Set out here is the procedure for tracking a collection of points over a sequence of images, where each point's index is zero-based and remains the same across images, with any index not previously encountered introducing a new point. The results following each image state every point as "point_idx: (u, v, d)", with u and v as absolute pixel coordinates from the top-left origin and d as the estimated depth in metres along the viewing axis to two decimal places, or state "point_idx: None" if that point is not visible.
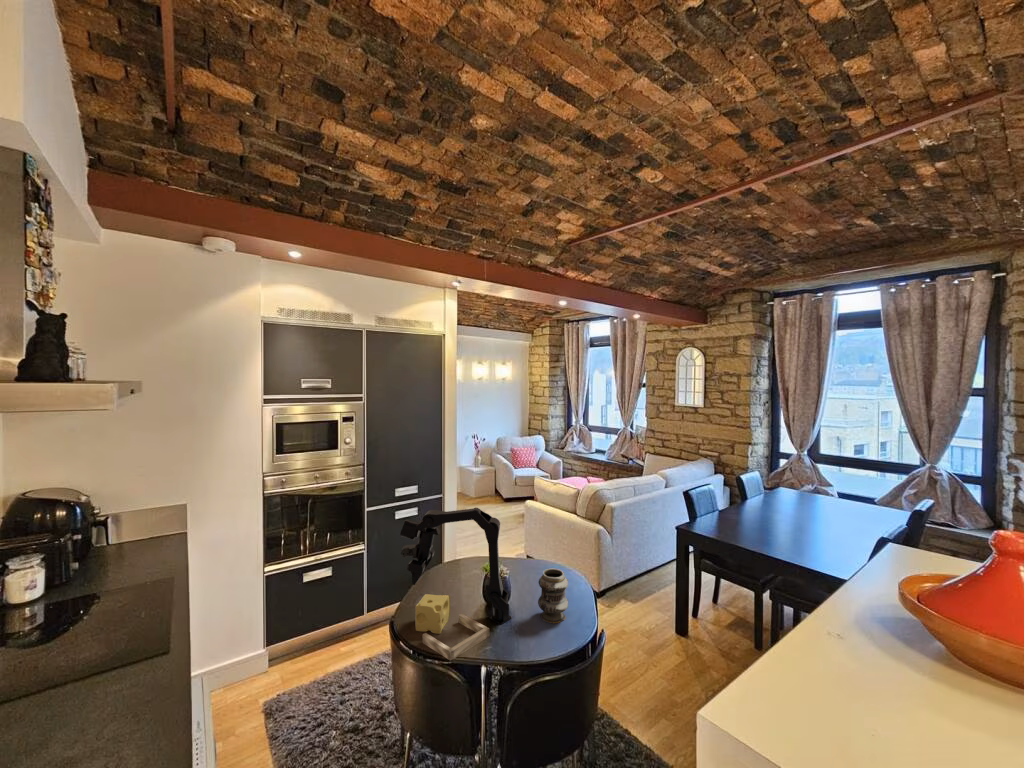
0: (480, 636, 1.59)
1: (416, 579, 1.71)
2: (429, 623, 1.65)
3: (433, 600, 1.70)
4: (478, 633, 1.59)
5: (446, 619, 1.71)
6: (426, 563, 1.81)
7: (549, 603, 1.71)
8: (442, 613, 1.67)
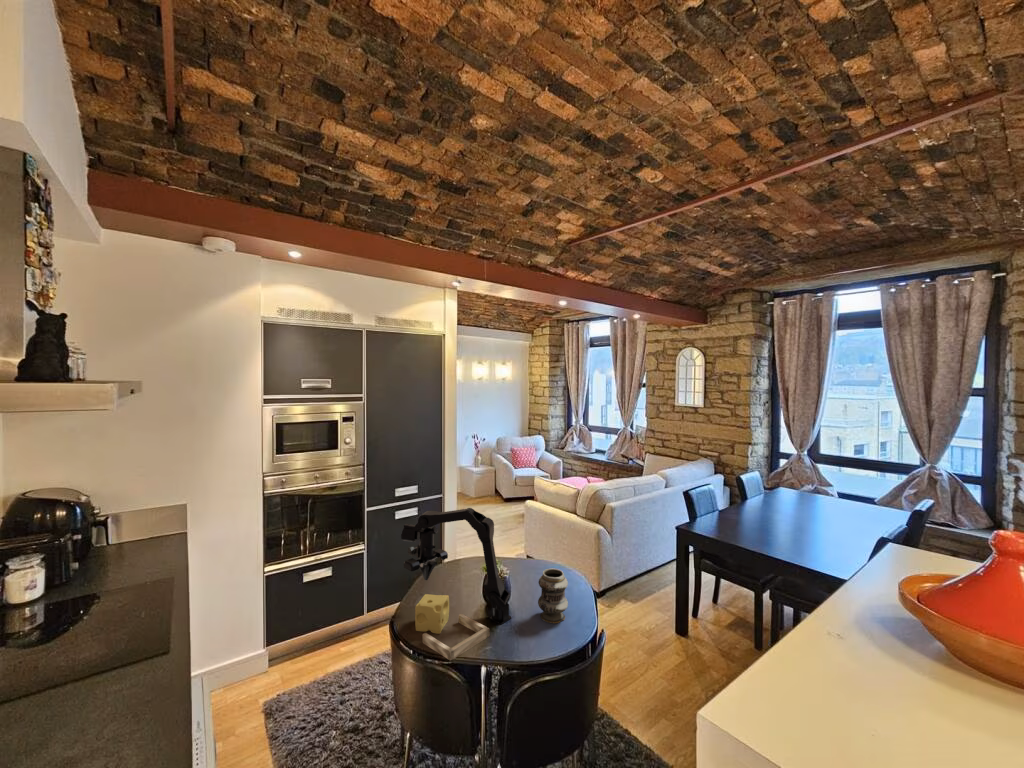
0: (480, 636, 1.59)
1: (425, 574, 1.80)
2: (429, 623, 1.65)
3: (433, 600, 1.70)
4: (478, 633, 1.59)
5: (446, 619, 1.71)
6: (429, 568, 1.81)
7: (549, 603, 1.71)
8: (442, 613, 1.67)
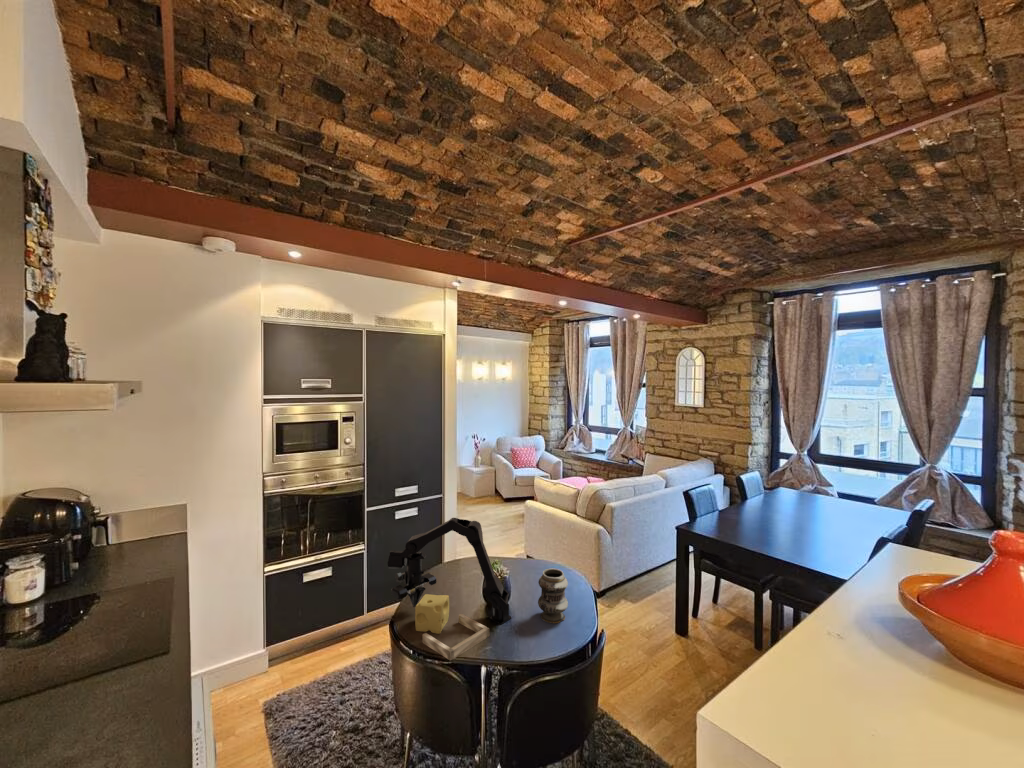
0: (480, 636, 1.59)
1: (413, 601, 1.76)
2: (429, 623, 1.65)
3: (433, 600, 1.70)
4: (478, 633, 1.59)
5: (446, 619, 1.71)
6: (417, 595, 1.77)
7: (549, 603, 1.71)
8: (442, 613, 1.67)
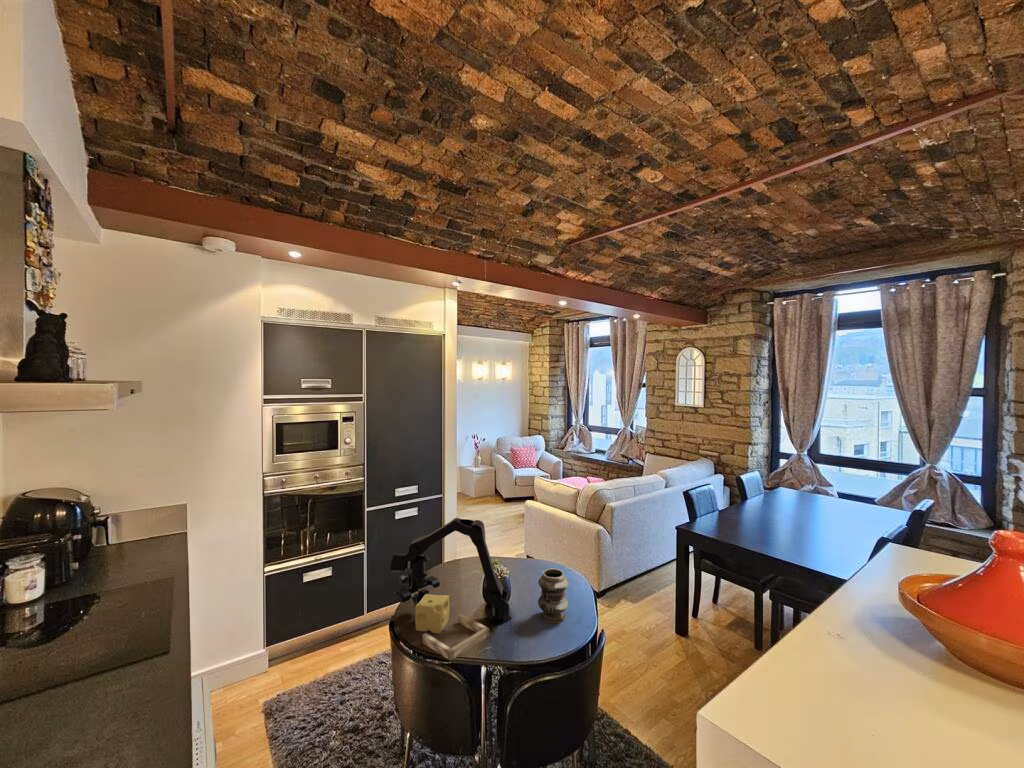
0: (480, 636, 1.59)
1: (416, 604, 1.75)
2: (429, 623, 1.65)
3: (433, 600, 1.70)
4: (478, 633, 1.59)
5: (446, 619, 1.71)
6: (421, 598, 1.76)
7: (549, 603, 1.71)
8: (442, 613, 1.67)
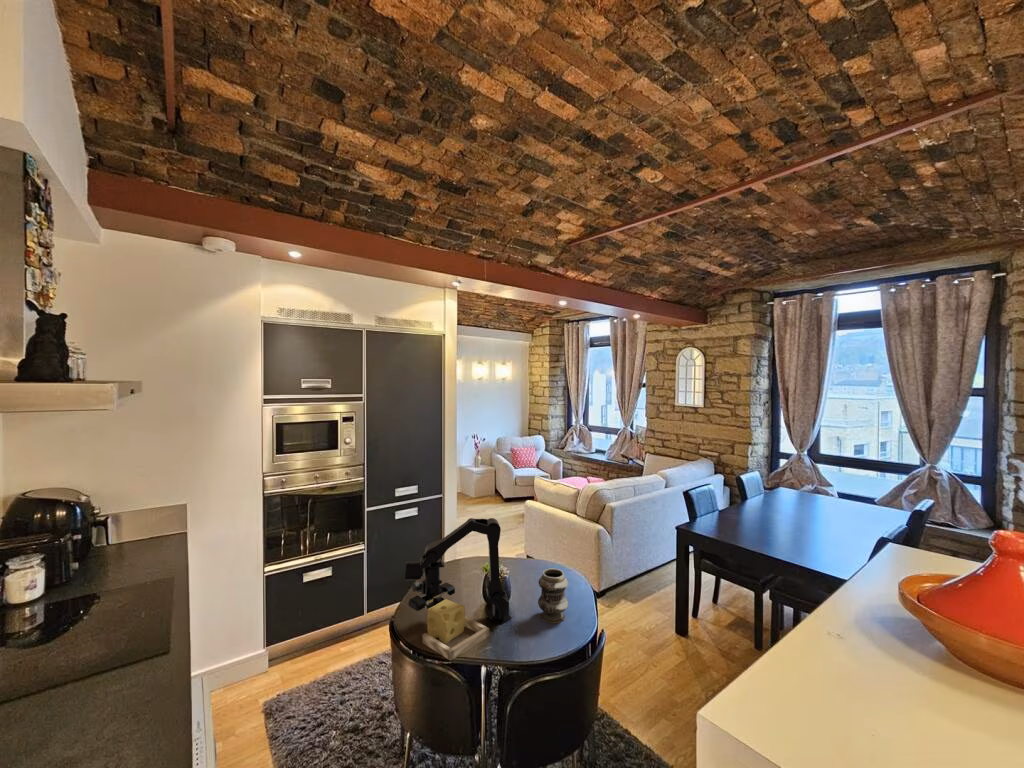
0: (480, 636, 1.59)
1: None
2: (438, 630, 1.60)
3: (447, 607, 1.65)
4: (478, 633, 1.59)
5: (459, 630, 1.64)
6: None
7: (549, 603, 1.71)
8: (451, 623, 1.60)
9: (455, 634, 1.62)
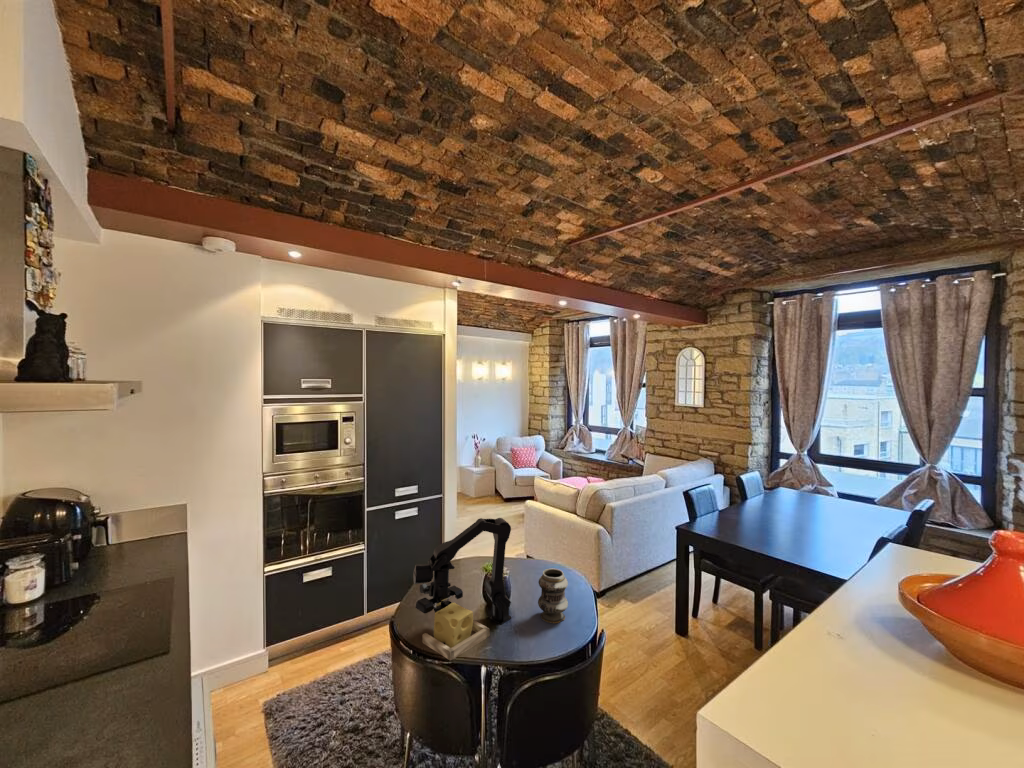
0: (480, 636, 1.59)
1: None
2: (444, 635, 1.57)
3: (455, 612, 1.61)
4: (478, 633, 1.59)
5: (466, 636, 1.60)
6: None
7: (549, 603, 1.71)
8: (459, 629, 1.56)
9: (462, 640, 1.58)
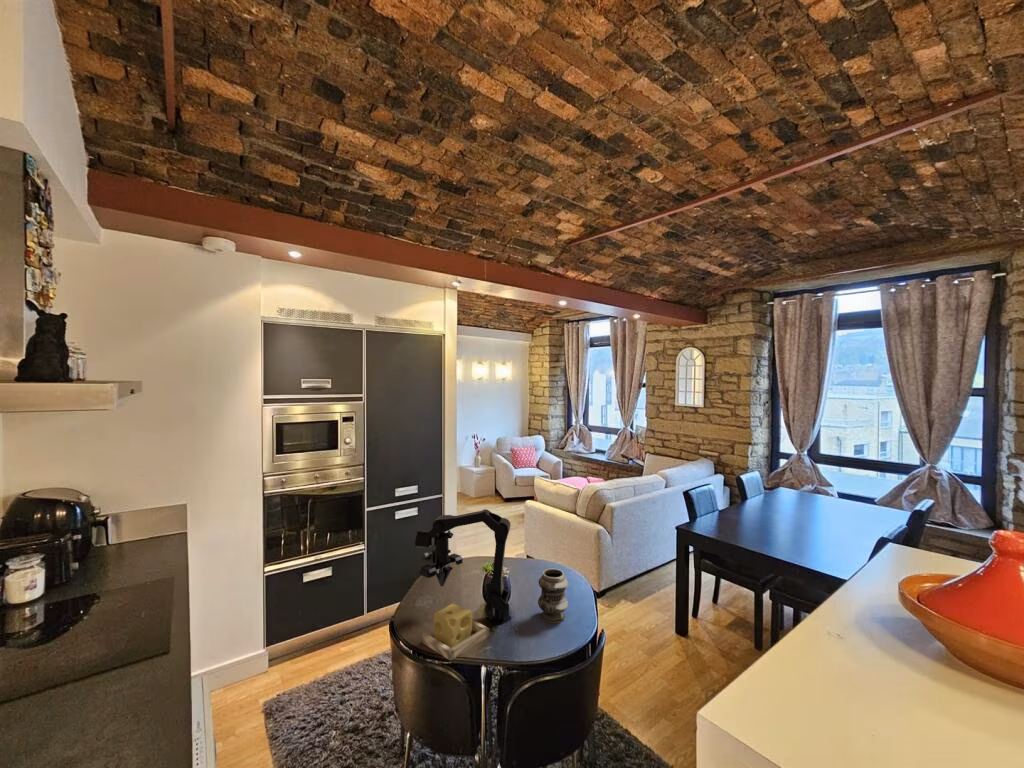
0: (480, 636, 1.59)
1: (441, 580, 1.76)
2: (444, 635, 1.57)
3: (453, 612, 1.61)
4: (478, 633, 1.59)
5: (466, 636, 1.60)
6: (445, 574, 1.77)
7: (549, 603, 1.71)
8: (457, 628, 1.57)
9: (461, 640, 1.58)
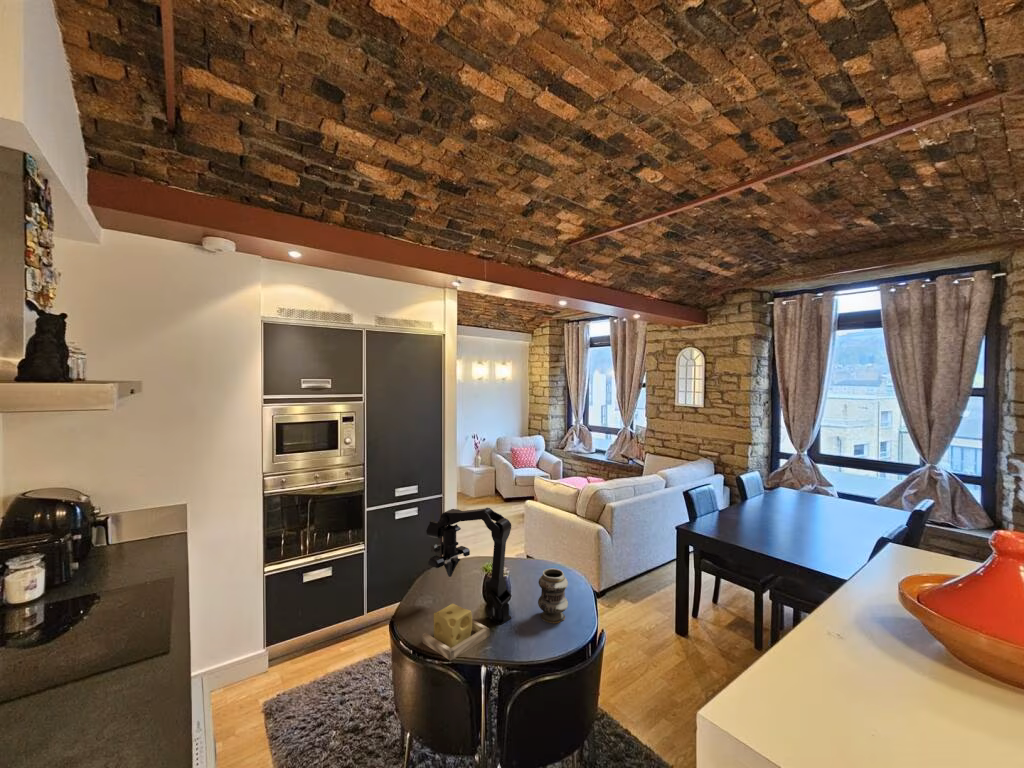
0: (480, 636, 1.59)
1: (448, 571, 1.84)
2: (444, 635, 1.57)
3: (453, 612, 1.61)
4: (478, 633, 1.59)
5: (466, 636, 1.60)
6: None
7: (549, 603, 1.71)
8: (457, 628, 1.57)
9: (461, 640, 1.58)
